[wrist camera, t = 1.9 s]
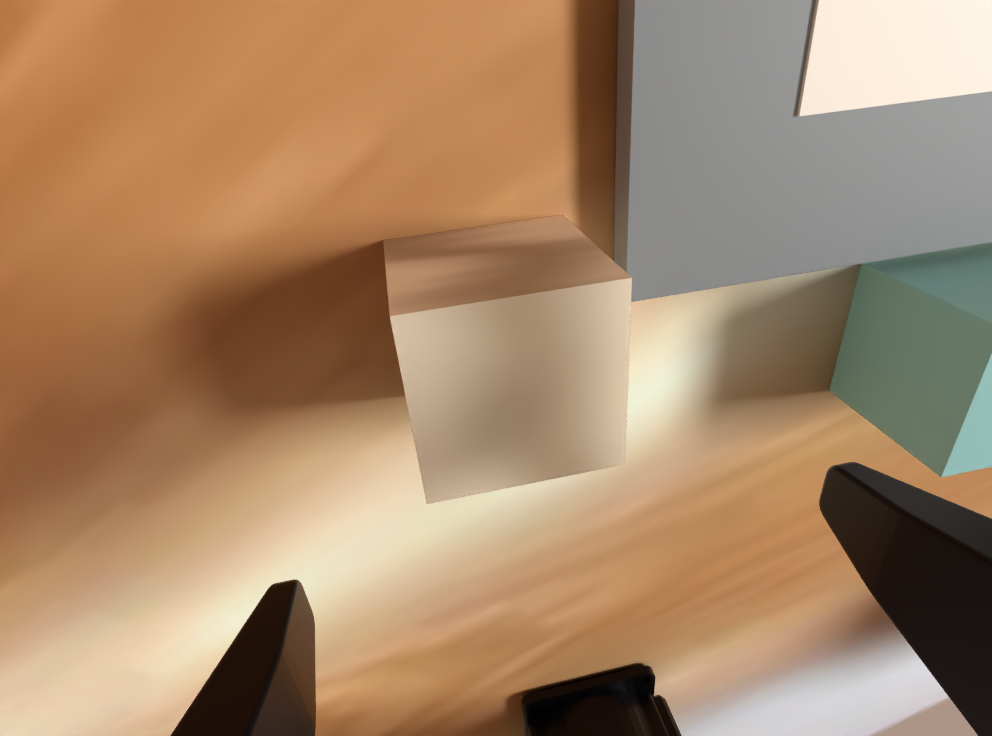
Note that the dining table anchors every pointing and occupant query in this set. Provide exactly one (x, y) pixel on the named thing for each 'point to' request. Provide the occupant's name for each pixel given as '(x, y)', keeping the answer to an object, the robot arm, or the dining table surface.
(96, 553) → the dining table surface
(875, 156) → the slate board
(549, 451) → the birch cube
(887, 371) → the teal cube
